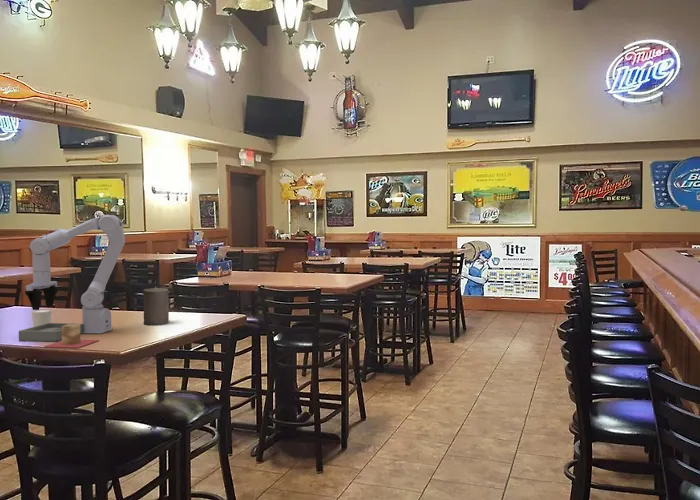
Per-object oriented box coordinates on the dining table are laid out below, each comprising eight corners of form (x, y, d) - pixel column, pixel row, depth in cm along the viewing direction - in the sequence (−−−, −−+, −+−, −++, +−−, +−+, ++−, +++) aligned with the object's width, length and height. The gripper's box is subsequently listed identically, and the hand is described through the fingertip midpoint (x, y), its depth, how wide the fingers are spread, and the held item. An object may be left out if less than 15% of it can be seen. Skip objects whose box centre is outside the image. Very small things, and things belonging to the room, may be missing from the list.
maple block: (80, 342, 201) (80, 324, 201) (73, 344, 198) (72, 326, 197) (69, 341, 202) (69, 324, 202) (62, 344, 198) (61, 326, 198)
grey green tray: (83, 333, 220) (83, 323, 220) (56, 341, 204) (55, 331, 204) (48, 332, 222) (48, 323, 222) (18, 340, 206) (18, 330, 206)
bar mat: (99, 341, 205) (99, 339, 205) (78, 348, 193) (78, 347, 193) (66, 340, 207) (66, 339, 207) (44, 347, 195) (44, 346, 195)
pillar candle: (138, 324, 238) (137, 286, 237) (156, 320, 247) (156, 284, 246) (156, 326, 233) (155, 288, 233) (174, 322, 242) (173, 285, 241)
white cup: (30, 331, 225) (29, 312, 224) (34, 328, 231) (34, 310, 231) (50, 330, 226) (49, 311, 226) (54, 327, 233) (53, 309, 233)
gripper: (44, 269, 226) (45, 305, 226) (17, 272, 211) (19, 311, 212) (61, 269, 224) (62, 305, 225) (35, 272, 210) (37, 311, 211)
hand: (42, 308), depth 218 cm, fingers open, 7 cm apart
